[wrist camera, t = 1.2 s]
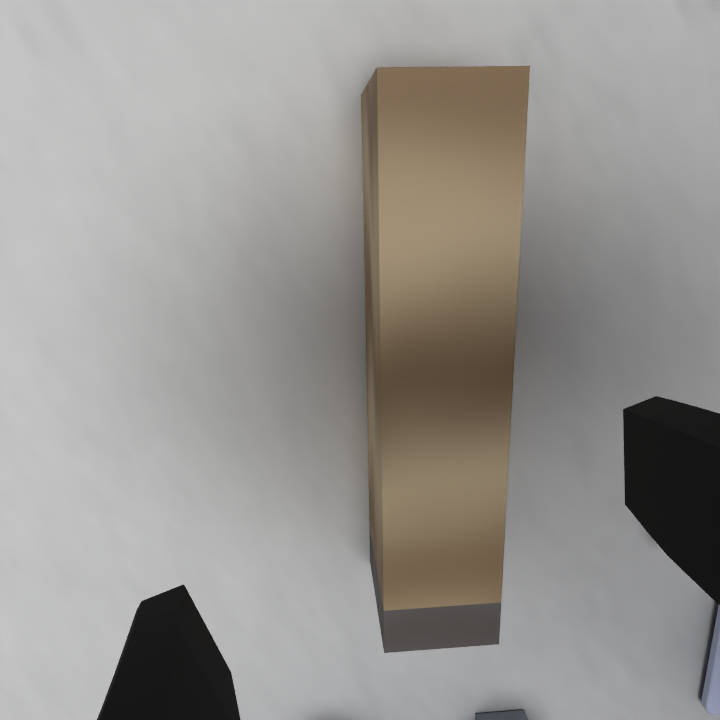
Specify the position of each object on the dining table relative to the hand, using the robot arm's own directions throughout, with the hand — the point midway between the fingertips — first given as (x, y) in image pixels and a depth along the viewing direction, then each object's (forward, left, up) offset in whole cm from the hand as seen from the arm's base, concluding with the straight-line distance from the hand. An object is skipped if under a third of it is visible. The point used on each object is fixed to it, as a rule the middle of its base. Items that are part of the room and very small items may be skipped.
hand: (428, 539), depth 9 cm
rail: (-2, 0, -11) cm, 11 cm away
